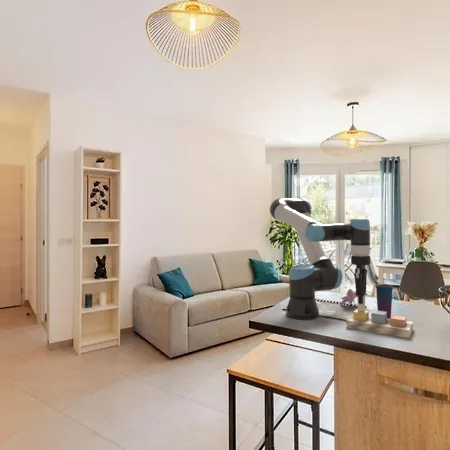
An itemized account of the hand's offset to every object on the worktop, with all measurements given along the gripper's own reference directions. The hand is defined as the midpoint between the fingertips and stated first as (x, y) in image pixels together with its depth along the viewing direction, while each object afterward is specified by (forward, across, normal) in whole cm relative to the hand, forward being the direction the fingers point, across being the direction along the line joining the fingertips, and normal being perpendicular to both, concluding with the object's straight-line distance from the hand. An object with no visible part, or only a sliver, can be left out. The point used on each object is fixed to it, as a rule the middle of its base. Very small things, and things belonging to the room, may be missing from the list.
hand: (361, 310), depth 138 cm
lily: (+6, +29, +12) cm, 32 cm away
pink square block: (+5, 0, -14) cm, 15 cm away
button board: (+6, 0, -7) cm, 9 cm away
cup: (+6, +15, -6) cm, 17 cm away
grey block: (+4, 0, -7) cm, 8 cm away
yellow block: (+4, 0, 0) cm, 4 cm away
